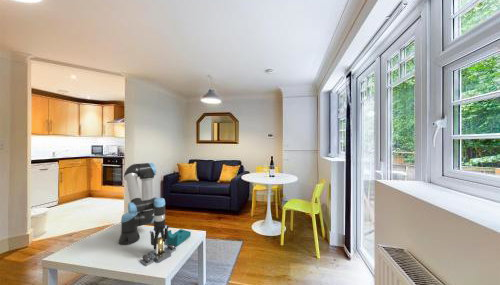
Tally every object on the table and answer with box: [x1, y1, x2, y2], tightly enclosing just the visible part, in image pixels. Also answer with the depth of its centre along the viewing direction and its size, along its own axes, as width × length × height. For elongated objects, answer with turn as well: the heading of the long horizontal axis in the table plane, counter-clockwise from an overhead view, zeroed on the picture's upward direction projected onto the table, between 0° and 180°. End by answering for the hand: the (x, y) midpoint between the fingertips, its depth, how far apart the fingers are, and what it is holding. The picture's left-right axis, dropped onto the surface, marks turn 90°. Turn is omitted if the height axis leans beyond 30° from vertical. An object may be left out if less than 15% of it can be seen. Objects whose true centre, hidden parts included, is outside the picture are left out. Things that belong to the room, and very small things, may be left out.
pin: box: [156, 236, 163, 256], centre depth 144 cm, size 5×5×12 cm
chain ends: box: [140, 244, 177, 267], centre depth 145 cm, size 14×23×4 cm, turn 145°
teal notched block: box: [165, 228, 192, 247], centre depth 167 cm, size 18×11×10 cm, turn 161°
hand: (159, 251), depth 145 cm, fingers closed on pin, 4 cm apart
